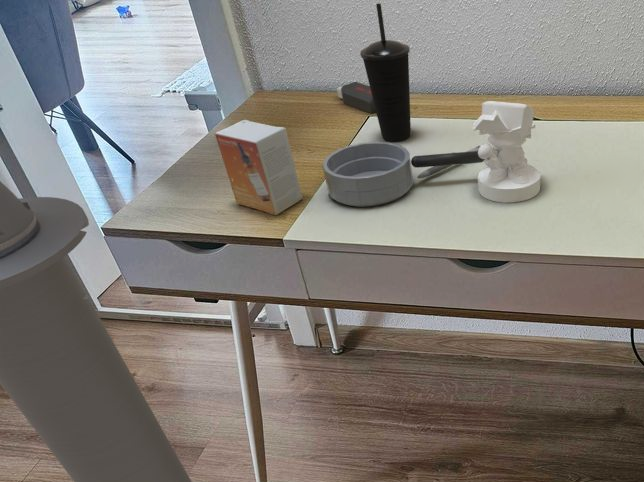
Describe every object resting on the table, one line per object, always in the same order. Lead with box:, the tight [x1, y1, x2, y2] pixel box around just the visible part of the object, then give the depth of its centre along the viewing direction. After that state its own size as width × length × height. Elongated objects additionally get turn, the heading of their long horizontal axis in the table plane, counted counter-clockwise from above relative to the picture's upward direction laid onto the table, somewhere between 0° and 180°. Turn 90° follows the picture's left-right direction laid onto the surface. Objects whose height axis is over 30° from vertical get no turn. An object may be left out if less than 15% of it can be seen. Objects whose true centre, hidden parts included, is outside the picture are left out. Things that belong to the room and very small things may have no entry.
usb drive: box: [336, 81, 376, 114], centre depth 118 cm, size 5×12×3 cm, turn 43°
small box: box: [214, 119, 303, 216], centre depth 86 cm, size 8×6×10 cm
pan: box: [322, 141, 414, 208], centre depth 89 cm, size 12×12×4 cm
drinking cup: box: [359, 2, 412, 143], centre depth 99 cm, size 8×8×20 cm
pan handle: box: [410, 151, 485, 169], centre depth 89 cm, size 11×2×2 cm, turn 93°
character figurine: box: [472, 100, 541, 204], centre depth 85 cm, size 9×10×12 cm
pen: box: [416, 144, 482, 180], centre depth 94 cm, size 1×14×1 cm, turn 135°
